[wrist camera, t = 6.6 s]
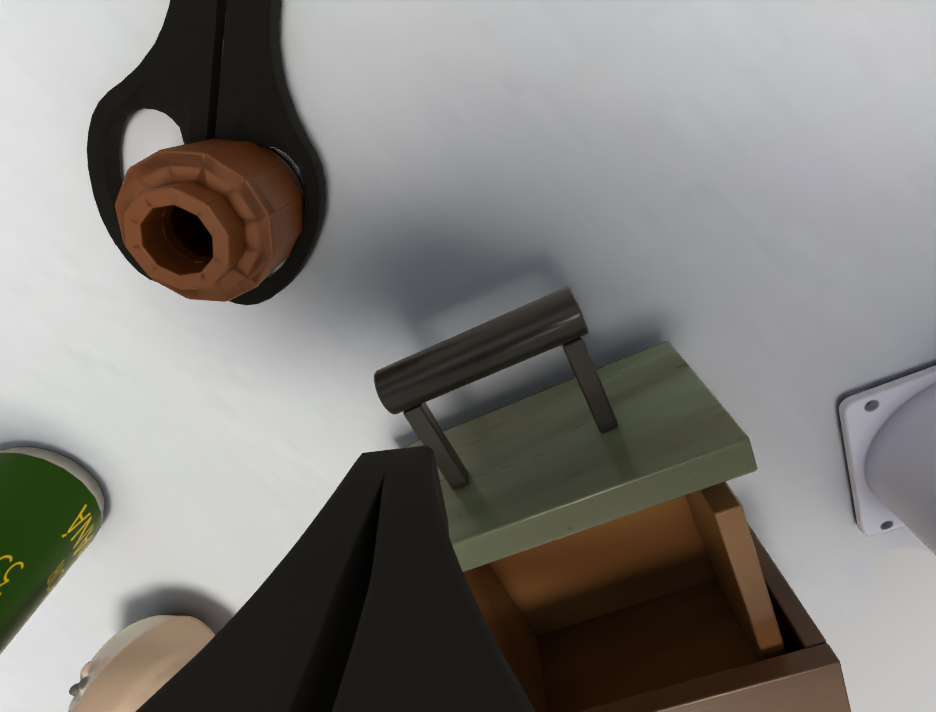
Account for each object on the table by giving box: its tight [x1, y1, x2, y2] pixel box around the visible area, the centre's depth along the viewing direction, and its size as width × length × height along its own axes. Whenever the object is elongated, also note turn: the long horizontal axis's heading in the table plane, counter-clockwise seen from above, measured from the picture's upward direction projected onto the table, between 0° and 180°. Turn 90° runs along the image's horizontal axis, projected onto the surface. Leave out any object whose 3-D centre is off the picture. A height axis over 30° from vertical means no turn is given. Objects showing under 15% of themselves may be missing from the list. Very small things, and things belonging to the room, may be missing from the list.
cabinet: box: [579, 523, 851, 712], centre depth 23 cm, size 13×12×7 cm
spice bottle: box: [115, 138, 305, 301], centre depth 14 cm, size 4×4×4 cm
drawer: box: [374, 287, 787, 712], centre depth 18 cm, size 17×11×6 cm, turn 25°
